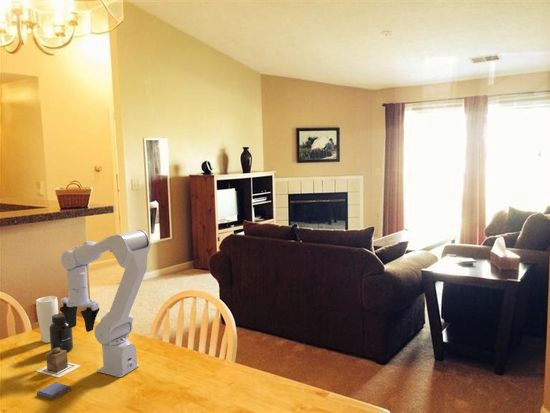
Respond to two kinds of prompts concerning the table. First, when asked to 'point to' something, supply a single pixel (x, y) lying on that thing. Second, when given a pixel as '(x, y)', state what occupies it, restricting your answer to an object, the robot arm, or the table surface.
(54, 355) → the stamp
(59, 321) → the supplement bottle
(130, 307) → the robot arm
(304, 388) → the table surface
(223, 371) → the table surface
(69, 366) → the form sheet
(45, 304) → the drinking glass
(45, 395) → the ink pad
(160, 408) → the table surface
